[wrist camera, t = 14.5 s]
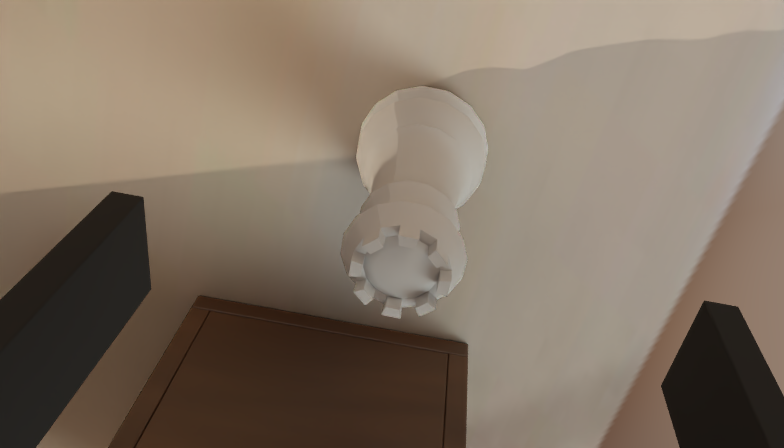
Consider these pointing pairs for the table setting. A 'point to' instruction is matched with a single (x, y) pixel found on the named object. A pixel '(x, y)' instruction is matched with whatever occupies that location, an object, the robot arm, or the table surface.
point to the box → (298, 385)
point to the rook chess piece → (413, 198)
